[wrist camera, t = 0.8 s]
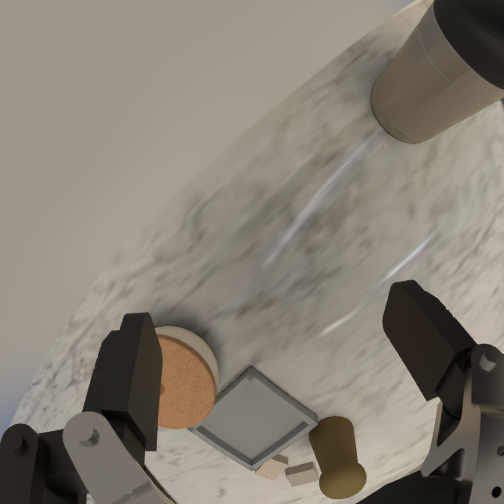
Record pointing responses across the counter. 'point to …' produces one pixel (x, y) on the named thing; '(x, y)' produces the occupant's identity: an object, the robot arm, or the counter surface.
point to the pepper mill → (337, 458)
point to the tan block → (272, 467)
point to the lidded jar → (185, 378)
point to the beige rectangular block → (302, 474)
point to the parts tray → (254, 420)
